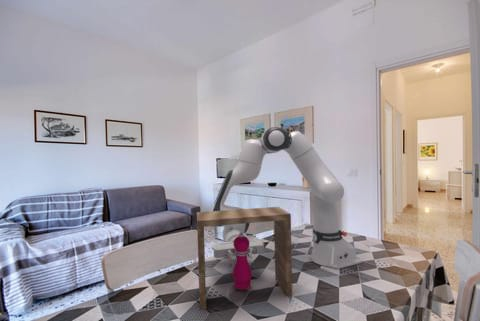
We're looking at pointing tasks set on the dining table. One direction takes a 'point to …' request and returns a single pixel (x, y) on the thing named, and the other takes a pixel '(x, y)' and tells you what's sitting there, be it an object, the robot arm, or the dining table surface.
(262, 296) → the dining table surface
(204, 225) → the arch
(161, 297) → the dining table surface
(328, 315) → the dining table surface
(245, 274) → the pepper mill
